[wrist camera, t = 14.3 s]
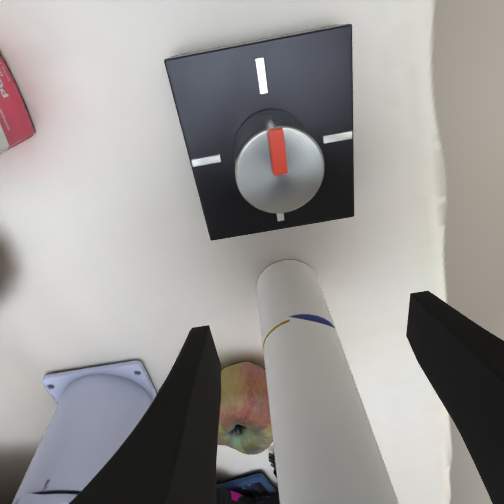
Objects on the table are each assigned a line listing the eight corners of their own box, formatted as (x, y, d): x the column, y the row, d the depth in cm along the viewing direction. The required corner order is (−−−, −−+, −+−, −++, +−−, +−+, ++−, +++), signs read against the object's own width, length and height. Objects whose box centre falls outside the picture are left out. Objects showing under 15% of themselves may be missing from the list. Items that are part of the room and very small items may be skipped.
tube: (270, 316, 26) (309, 585, 14) (246, 274, 24) (266, 545, 11) (325, 296, 26) (422, 560, 13) (305, 250, 23) (398, 512, 11)
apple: (300, 389, 31) (313, 458, 26) (210, 405, 31) (206, 476, 26) (290, 340, 28) (303, 409, 23) (190, 359, 28) (182, 430, 23)
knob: (311, 177, 18) (329, 209, 15) (241, 189, 18) (243, 223, 15) (305, 102, 16) (324, 120, 13) (227, 116, 16) (226, 137, 13)
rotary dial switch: (342, 198, 22) (355, 218, 19) (212, 221, 22) (210, 242, 20) (336, 24, 17) (353, 23, 15) (171, 56, 17) (162, 60, 15)
